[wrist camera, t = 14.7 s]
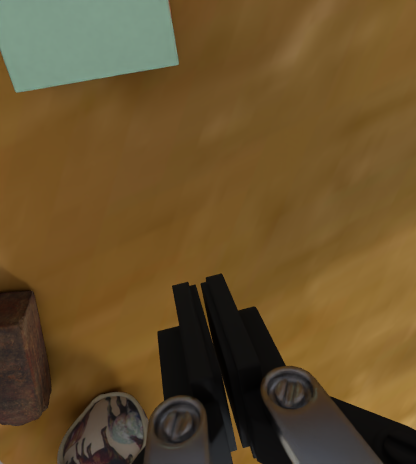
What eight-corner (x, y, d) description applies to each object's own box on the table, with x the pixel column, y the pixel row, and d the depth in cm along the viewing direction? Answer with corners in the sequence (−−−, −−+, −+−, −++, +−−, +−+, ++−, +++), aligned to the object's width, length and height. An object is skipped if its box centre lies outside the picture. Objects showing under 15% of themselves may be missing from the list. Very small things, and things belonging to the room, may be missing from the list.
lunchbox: (190, 62, 18) (173, 61, 25) (162, -120, 15) (150, -69, 22) (2, 95, 17) (33, 85, 24) (-70, -95, 14) (-13, -49, 20)
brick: (-19, 291, 29) (-43, 331, 25) (35, 287, 30) (21, 325, 25) (7, 389, 33) (-9, 436, 29) (54, 383, 34) (44, 428, 30)
